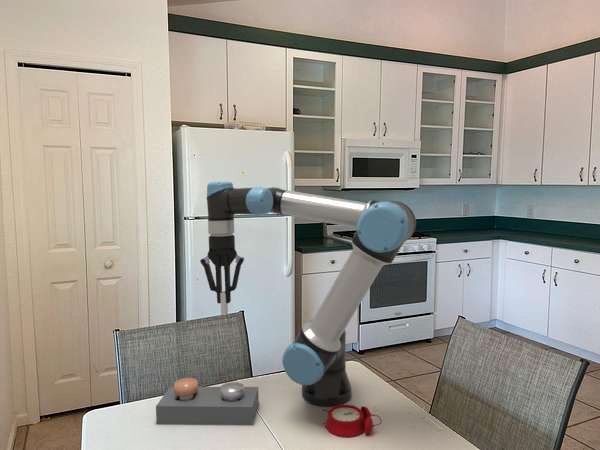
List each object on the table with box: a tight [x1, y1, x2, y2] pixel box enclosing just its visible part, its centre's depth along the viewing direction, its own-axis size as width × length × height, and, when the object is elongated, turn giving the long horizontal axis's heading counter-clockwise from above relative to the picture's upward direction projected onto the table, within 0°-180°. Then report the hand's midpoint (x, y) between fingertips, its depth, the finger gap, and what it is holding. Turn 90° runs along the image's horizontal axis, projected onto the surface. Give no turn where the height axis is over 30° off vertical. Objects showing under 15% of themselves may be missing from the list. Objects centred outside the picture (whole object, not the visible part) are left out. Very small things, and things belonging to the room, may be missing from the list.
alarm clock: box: [322, 404, 383, 438], centre depth 118 cm, size 10×6×15 cm
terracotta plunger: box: [173, 377, 199, 400], centre depth 126 cm, size 6×6×7 cm
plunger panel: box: [155, 386, 260, 426], centre depth 126 cm, size 26×12×5 cm, turn 88°
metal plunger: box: [220, 381, 245, 401], centre depth 125 cm, size 6×6×7 cm
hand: (224, 313), depth 133 cm, fingers closed
